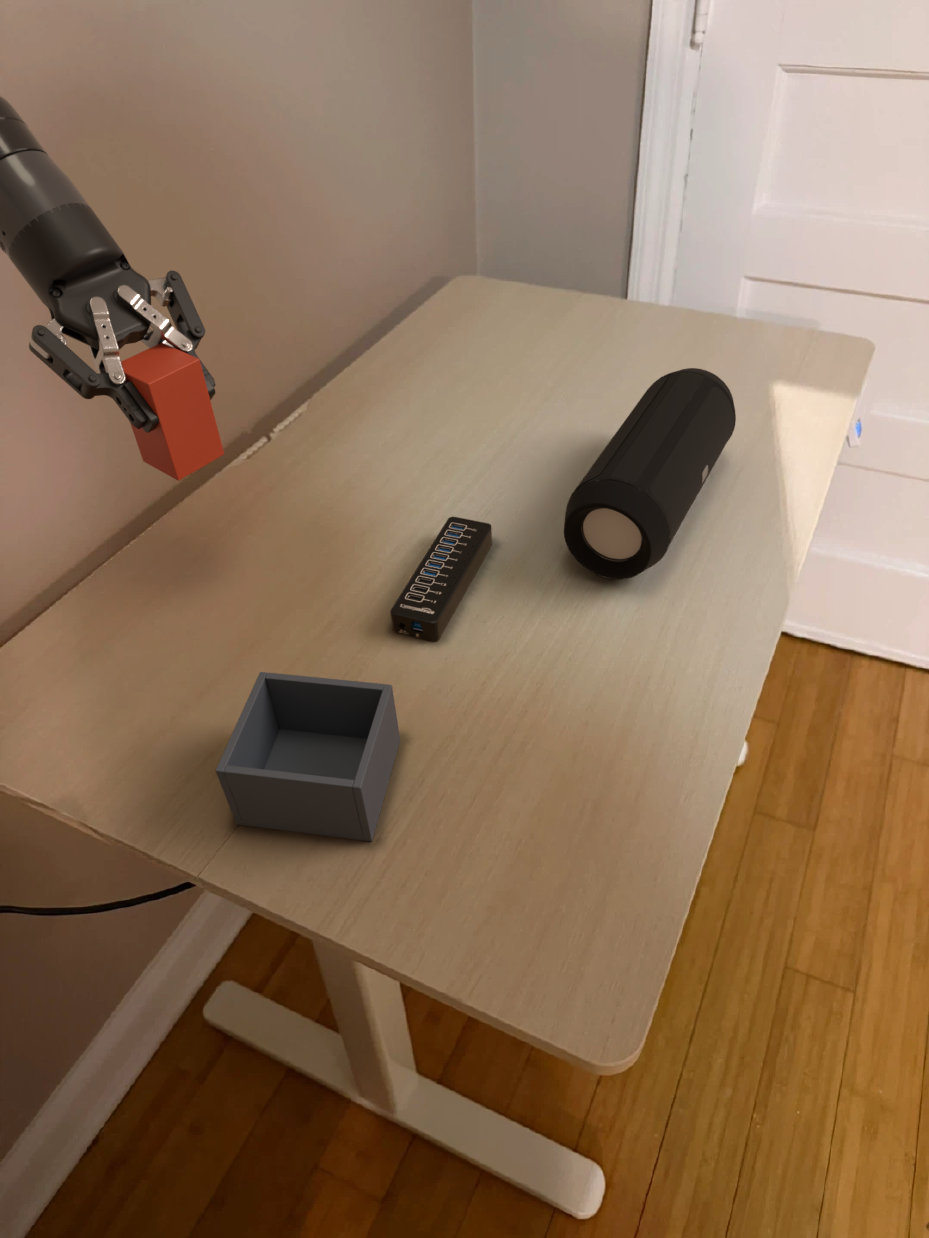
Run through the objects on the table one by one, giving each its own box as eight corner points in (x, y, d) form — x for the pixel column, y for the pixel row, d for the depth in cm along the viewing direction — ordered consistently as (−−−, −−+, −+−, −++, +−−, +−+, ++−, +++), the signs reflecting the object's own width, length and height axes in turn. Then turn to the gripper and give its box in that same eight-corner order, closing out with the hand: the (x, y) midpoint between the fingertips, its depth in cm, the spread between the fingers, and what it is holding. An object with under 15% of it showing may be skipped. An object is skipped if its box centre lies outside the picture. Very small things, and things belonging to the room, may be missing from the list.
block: (142, 461, 77) (110, 366, 71) (189, 436, 80) (161, 342, 73) (178, 481, 75) (148, 384, 68) (225, 454, 77) (199, 358, 71)
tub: (236, 824, 65) (214, 770, 60) (276, 726, 71) (259, 671, 67) (372, 841, 63) (360, 787, 59) (400, 739, 70) (392, 684, 65)
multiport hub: (493, 542, 87) (492, 523, 85) (437, 642, 77) (435, 623, 75) (451, 533, 88) (449, 515, 86) (391, 631, 78) (388, 612, 77)
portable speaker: (654, 601, 80) (667, 511, 73) (552, 570, 83) (555, 482, 76) (733, 455, 96) (750, 370, 89) (645, 434, 99) (654, 351, 92)
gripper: (-34, 232, 63) (117, 433, 66) (135, 176, 71) (264, 357, 73) (-39, 288, 69) (99, 469, 72) (117, 231, 77) (236, 396, 80)
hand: (182, 411), depth 73 cm, fingers closed on block, 5 cm apart
